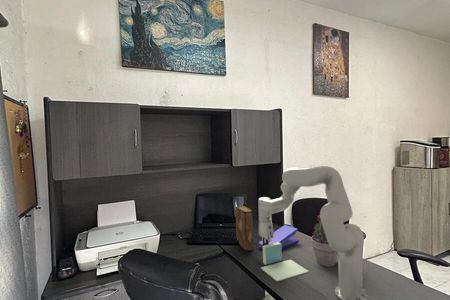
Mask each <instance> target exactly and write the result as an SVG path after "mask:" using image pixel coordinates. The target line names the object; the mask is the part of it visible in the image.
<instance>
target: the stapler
mask: <svg viewBox="0 0 450 300" xmlns="http://www.w3.org/2000/svg"><path fill="white" fill-rule="evenodd" d="M297 232H298V228H296V227H293V226H291V225H290V226H289V225H286V224H284V225H283V226H281V227H279V229H277V230H275V231H273V233H274V238H271V242H269V244H273V243H277V242H279V243H281V250H282V249H286V248H287V247H289V246H291V245H295V244H297V243H299V241H300V239H297V238H294V236H295V235H296V233H297ZM258 246H259V249H260V250H263V242H262V240H261V241H259V242H258Z"/></svg>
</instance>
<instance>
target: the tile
mask: <svg viewBox="0 0 450 300" xmlns="http://www.w3.org/2000/svg"><path fill="white" fill-rule="evenodd" d="M282 252H283V251H282V249H281V243H279V242H277V243H273V244H268V245H264V246H263V249H262V264H264V265H265V266H268V265H272V264H276V263H279V262H283V261H282V259H283V258H282V257H283V255H282Z"/></svg>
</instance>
